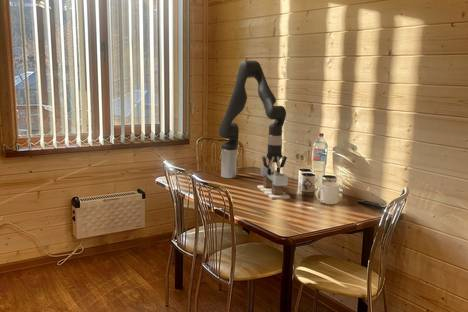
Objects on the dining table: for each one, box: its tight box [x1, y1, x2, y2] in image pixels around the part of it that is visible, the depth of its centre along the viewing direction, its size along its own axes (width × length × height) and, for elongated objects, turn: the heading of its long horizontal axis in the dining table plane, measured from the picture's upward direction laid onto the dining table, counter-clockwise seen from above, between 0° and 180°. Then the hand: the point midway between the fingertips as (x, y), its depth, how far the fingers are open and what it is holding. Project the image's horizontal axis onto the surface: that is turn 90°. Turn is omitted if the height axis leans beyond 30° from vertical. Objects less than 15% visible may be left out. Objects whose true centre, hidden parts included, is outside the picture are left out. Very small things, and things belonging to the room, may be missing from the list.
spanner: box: [259, 165, 289, 187], centre depth 245 cm, size 26×6×5 cm, turn 14°
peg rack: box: [256, 177, 291, 200], centre depth 246 cm, size 26×10×7 cm, turn 14°
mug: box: [315, 181, 340, 205], centre depth 230 cm, size 12×9×9 cm
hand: (273, 174), depth 245 cm, fingers open, 4 cm apart
